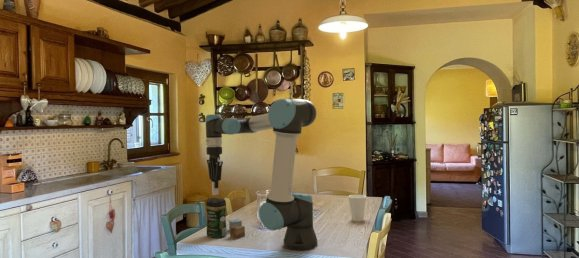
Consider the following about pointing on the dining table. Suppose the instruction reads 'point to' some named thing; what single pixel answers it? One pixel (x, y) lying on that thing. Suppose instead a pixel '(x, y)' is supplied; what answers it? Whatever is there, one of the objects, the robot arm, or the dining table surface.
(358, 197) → the foam cup
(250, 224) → the dining table surface
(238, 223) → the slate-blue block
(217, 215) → the coffee jar
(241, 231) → the walnut block
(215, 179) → the robot arm
